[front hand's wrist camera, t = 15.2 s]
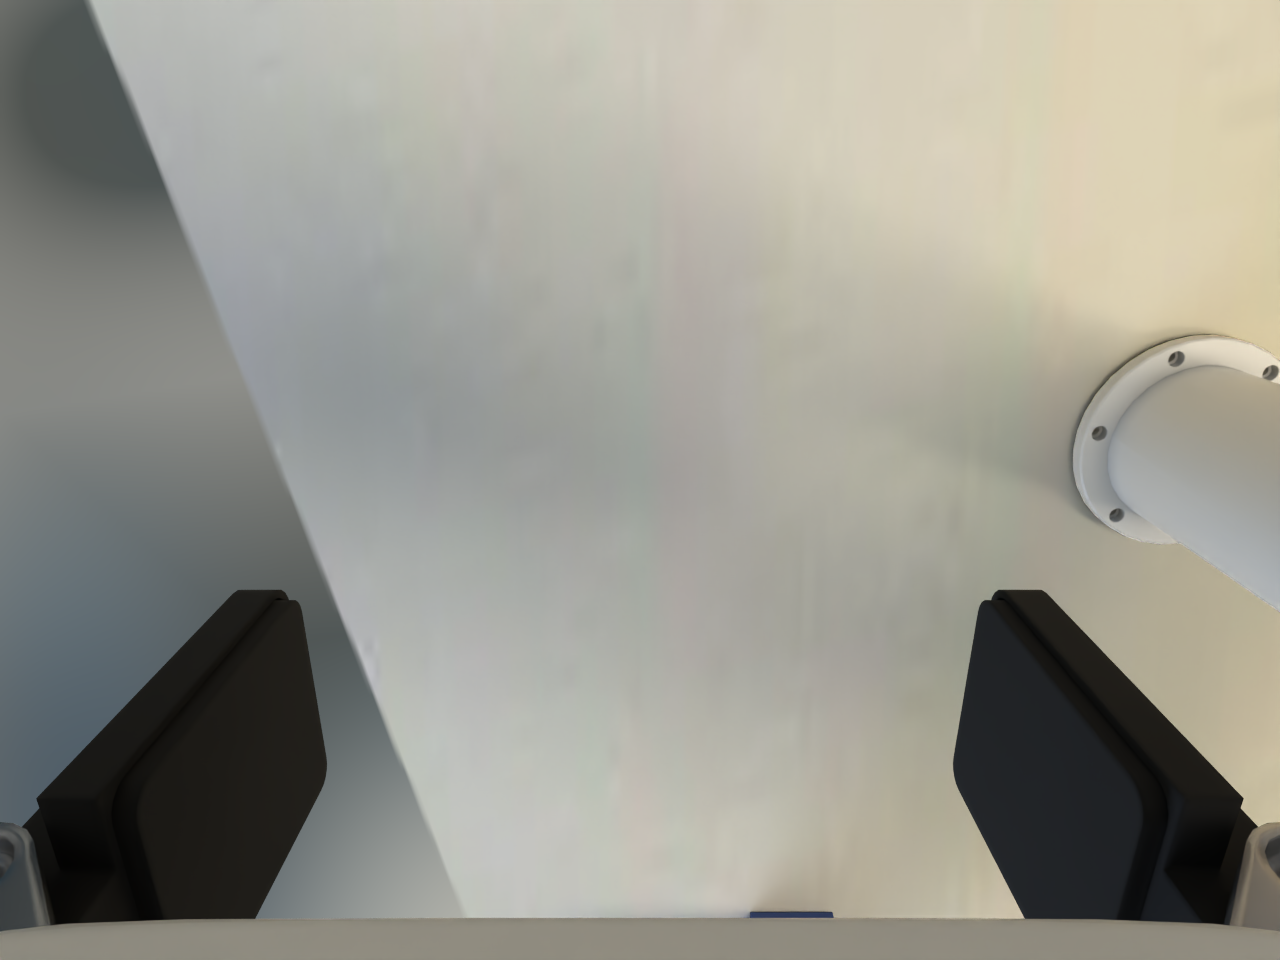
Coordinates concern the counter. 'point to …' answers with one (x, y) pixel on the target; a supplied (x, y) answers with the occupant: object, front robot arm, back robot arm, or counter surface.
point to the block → (791, 915)
